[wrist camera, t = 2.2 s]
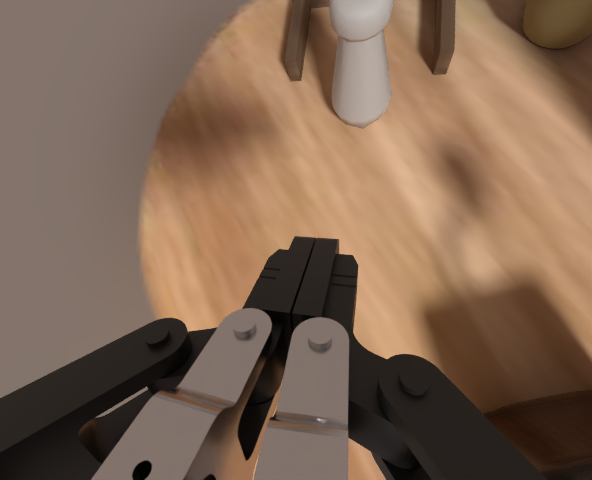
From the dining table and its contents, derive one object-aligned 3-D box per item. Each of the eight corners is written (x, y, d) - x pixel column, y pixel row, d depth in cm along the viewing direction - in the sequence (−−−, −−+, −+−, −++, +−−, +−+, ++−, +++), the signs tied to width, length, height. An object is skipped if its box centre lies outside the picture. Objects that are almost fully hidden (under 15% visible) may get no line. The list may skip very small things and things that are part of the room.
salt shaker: (331, 92, 34) (313, -35, 21) (385, 81, 32) (399, -60, 20) (336, 139, 32) (320, 33, 20) (392, 130, 31) (413, 12, 19)
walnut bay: (456, -16, 33) (476, -84, 27) (454, 73, 31) (475, 20, 25) (296, 1, 37) (283, -55, 32) (284, 81, 35) (269, 37, 29)
